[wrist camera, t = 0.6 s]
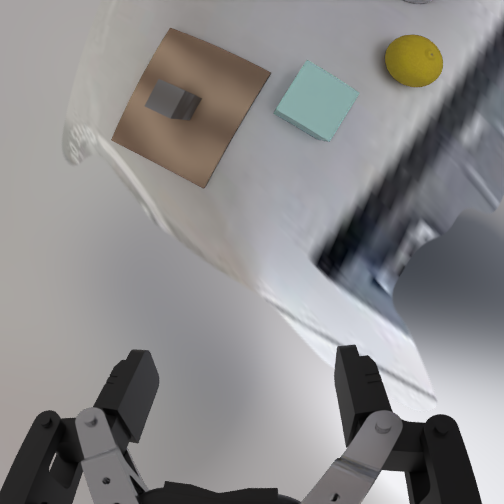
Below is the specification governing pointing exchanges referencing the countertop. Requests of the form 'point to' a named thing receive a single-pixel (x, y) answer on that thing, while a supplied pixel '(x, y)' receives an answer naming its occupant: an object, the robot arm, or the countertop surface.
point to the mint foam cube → (316, 102)
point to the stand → (189, 105)
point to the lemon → (414, 60)
